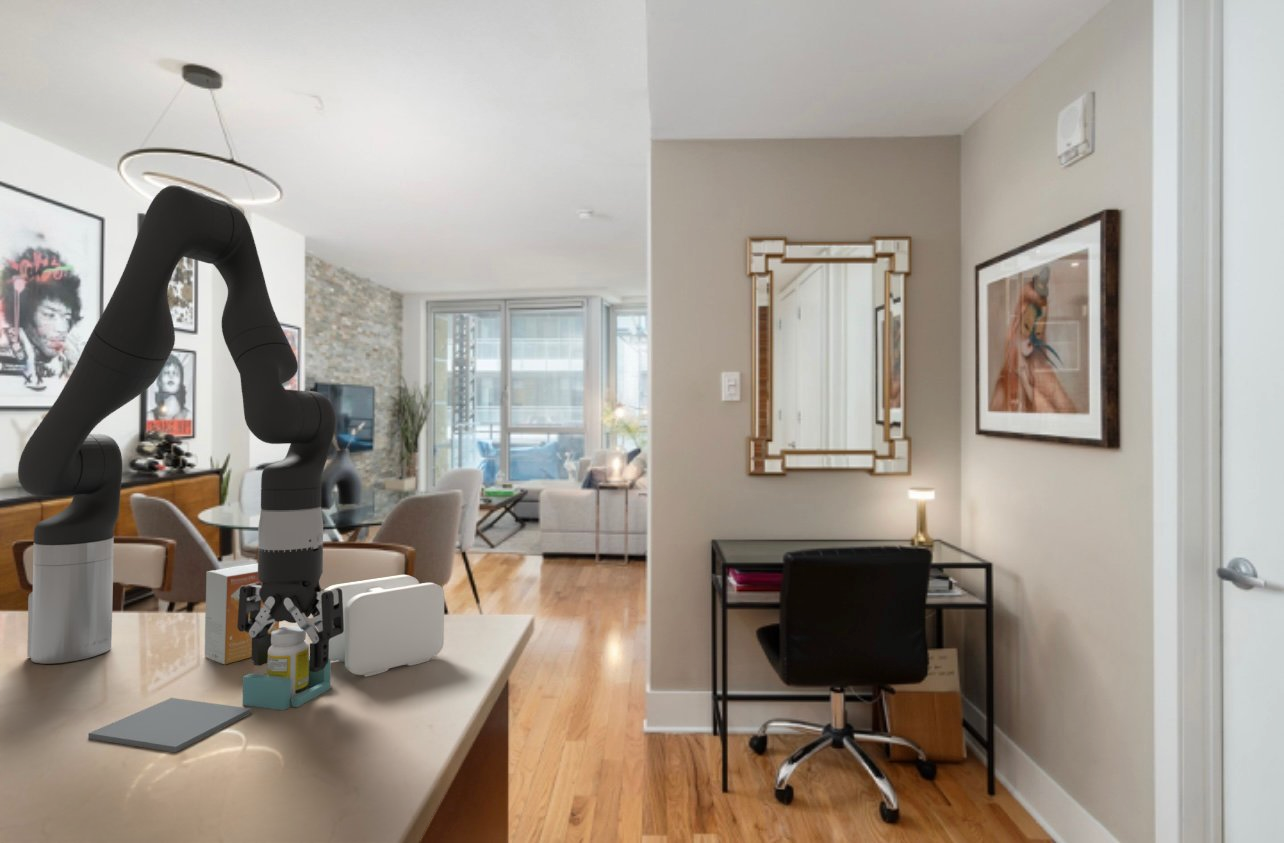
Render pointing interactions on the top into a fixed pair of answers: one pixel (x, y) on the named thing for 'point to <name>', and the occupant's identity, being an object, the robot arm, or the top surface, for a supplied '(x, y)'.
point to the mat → (170, 724)
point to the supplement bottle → (290, 657)
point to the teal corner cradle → (282, 689)
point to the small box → (228, 614)
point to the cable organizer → (388, 624)
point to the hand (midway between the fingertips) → (289, 666)
